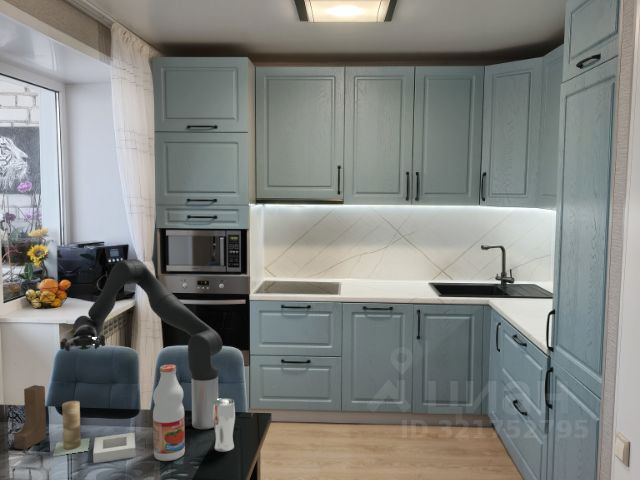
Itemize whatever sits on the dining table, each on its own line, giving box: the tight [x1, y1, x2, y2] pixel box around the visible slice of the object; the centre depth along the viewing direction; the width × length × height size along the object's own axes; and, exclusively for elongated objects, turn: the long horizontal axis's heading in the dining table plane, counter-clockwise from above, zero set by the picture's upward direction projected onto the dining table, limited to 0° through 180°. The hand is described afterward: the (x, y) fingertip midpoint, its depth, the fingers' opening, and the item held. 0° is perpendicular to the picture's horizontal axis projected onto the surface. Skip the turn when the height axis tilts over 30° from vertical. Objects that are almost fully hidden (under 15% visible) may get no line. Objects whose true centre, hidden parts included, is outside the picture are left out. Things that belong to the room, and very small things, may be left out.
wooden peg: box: [61, 400, 82, 450], centre depth 173 cm, size 5×5×14 cm
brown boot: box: [13, 384, 47, 451], centre depth 176 cm, size 9×4×18 cm, turn 163°
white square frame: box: [92, 432, 136, 464], centre depth 170 cm, size 12×12×3 cm
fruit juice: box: [152, 364, 186, 462], centre depth 167 cm, size 9×9×28 cm
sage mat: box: [52, 437, 91, 458], centre depth 173 cm, size 10×10×1 cm
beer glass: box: [213, 397, 236, 453], centre depth 173 cm, size 7×7×15 cm
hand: (82, 347), depth 182 cm, fingers open, 8 cm apart
